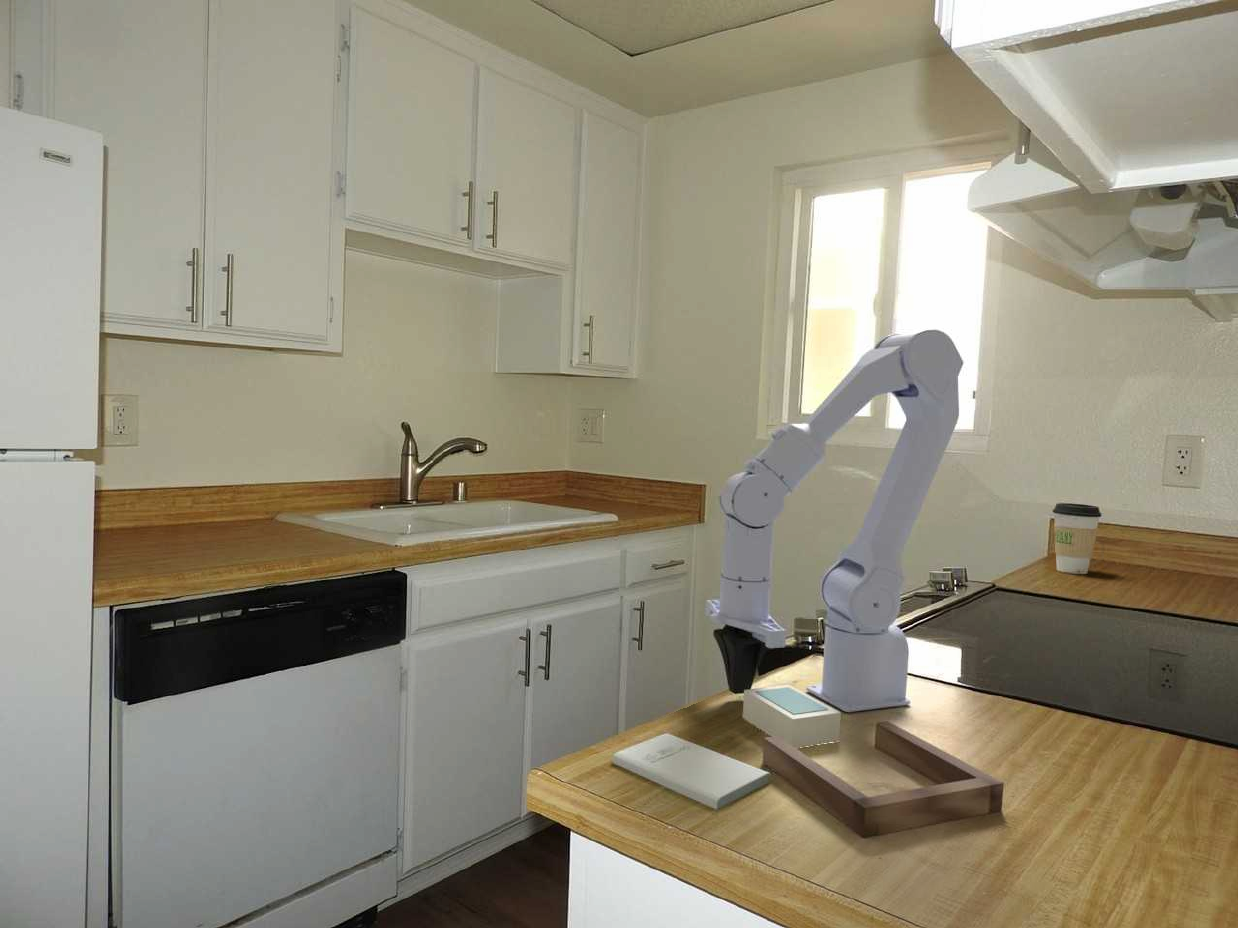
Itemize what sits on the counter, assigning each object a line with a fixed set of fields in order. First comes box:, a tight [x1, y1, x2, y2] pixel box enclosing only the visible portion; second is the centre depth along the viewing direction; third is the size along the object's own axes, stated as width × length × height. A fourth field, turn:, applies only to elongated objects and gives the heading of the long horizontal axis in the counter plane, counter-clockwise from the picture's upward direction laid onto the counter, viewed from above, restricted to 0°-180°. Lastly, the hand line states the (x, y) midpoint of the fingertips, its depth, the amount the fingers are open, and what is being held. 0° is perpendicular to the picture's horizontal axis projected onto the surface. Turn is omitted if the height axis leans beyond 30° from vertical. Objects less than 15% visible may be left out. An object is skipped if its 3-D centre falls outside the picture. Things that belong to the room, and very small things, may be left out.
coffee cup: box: [1052, 502, 1102, 575], centre depth 195 cm, size 10×10×15 cm
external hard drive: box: [612, 733, 772, 810], centre depth 81 cm, size 2×8×12 cm
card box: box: [742, 684, 842, 749], centre depth 92 cm, size 6×9×4 cm, turn 25°
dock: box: [762, 721, 1005, 839], centre depth 79 cm, size 15×15×2 cm
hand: (739, 691), depth 101 cm, fingers closed
